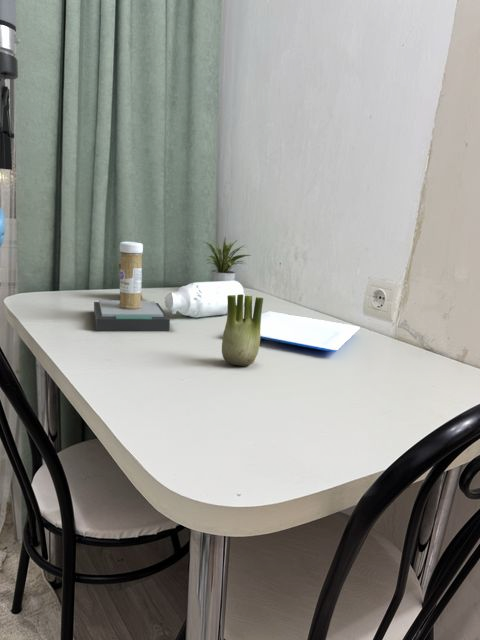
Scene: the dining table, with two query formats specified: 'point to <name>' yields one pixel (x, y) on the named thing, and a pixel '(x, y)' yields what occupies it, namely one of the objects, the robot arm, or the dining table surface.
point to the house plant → (224, 262)
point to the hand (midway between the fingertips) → (1, 168)
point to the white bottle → (203, 298)
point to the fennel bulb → (242, 330)
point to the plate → (305, 331)
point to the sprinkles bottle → (130, 275)
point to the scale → (130, 317)
